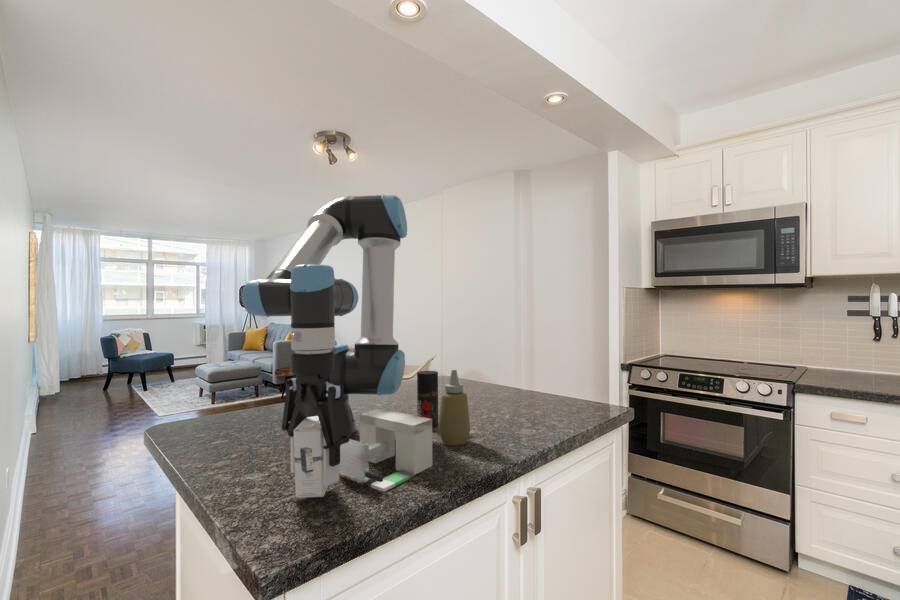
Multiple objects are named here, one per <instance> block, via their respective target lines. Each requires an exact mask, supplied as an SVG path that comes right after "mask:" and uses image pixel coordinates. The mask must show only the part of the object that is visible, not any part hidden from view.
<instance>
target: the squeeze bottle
mask: <svg viewBox="0 0 900 600" xmlns="http://www.w3.org/2000/svg"><path fill="white" fill-rule="evenodd" d="M440 396H441V397H440V405H439V414H438V426H437V429H438V433H439V436H440V438H441V441H442V443H443V444H444V445H446V446H454V447H455V446H457V447H458V446H462V445H464V444H466V443H467V441H468V438H469V434H470V431H471V422H470V413H469V404H468V403H469V402H468V395H467V394H466V393H465V392H464V384H462V383H460V382H459V377H458V372H457V370H456V369H452V370H451V371H450V377H449V381H448V383H445V384H444V393H442V394H441V395H440Z"/></svg>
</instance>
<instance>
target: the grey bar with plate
mask: <svg viewBox="0 0 900 600" xmlns="http://www.w3.org/2000/svg"><path fill="white" fill-rule="evenodd" d="M387 452H389V442H385V441H380V442H377V443H374V444H372V445H369V444H366V443H362V442H360V440H354V439H351V438H349V442H347V443H345V444H342V445H341V446H340V464H339V475H343V476H345V477H347V478H351V479H354V480H356V481H359V482H363V483H367V482H369V481H370V479H371V480H374V481H375V482H376V481H379V482H382V481H383V478H384V477H383V476H382V475H379V474H377V473H373V472H371V471H370V462H369V460H370V459H373V458H375V457H377V456H380V455H382V454H385V453H387Z"/></svg>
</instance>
